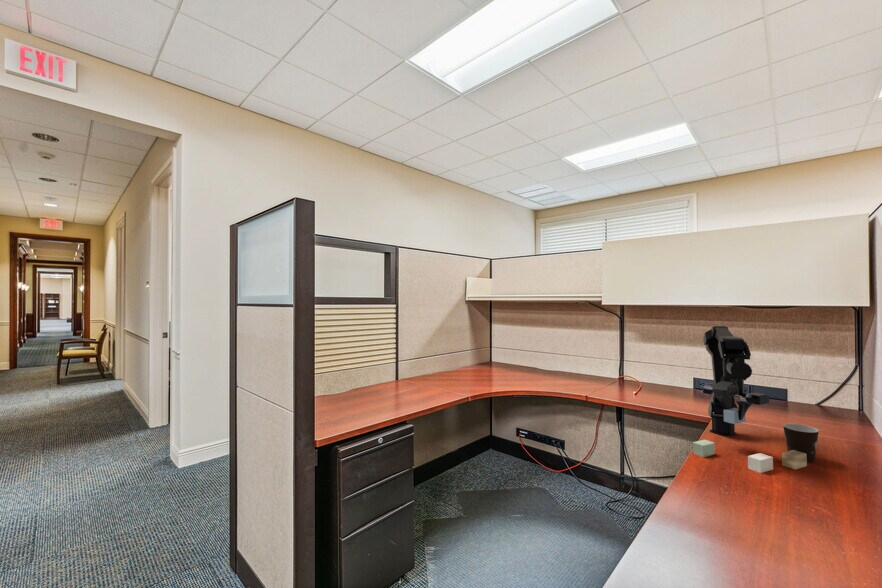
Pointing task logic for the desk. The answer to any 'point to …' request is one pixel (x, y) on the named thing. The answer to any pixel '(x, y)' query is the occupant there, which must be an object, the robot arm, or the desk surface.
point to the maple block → (794, 459)
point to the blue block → (732, 416)
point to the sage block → (704, 448)
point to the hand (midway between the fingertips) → (734, 418)
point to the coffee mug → (801, 439)
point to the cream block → (760, 462)
